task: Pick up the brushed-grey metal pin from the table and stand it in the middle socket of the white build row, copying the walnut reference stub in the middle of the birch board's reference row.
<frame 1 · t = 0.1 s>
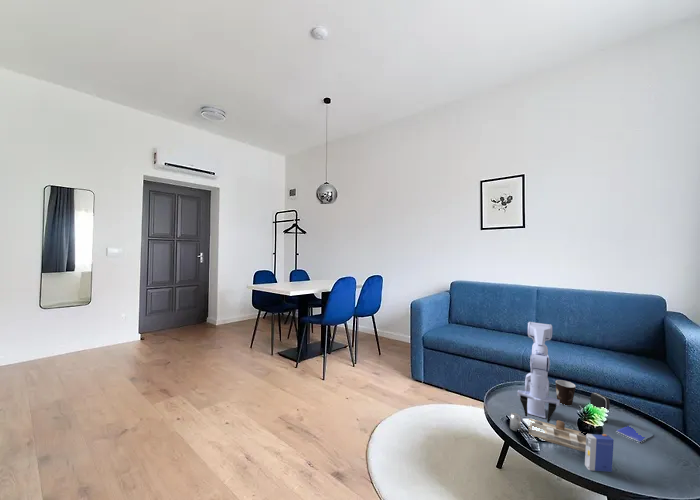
hand: (537, 418, 129), 10 cm above the table, tool pointing down, fingers open, 7 cm apart
layout board: (561, 436, 134), on the table
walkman: (598, 469, 115), on the table
blue spiral notebook: (634, 436, 138), on the table
coffee mug: (564, 404, 162), on the table
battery: (599, 419, 149), on the table
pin: (515, 428, 139), on the table
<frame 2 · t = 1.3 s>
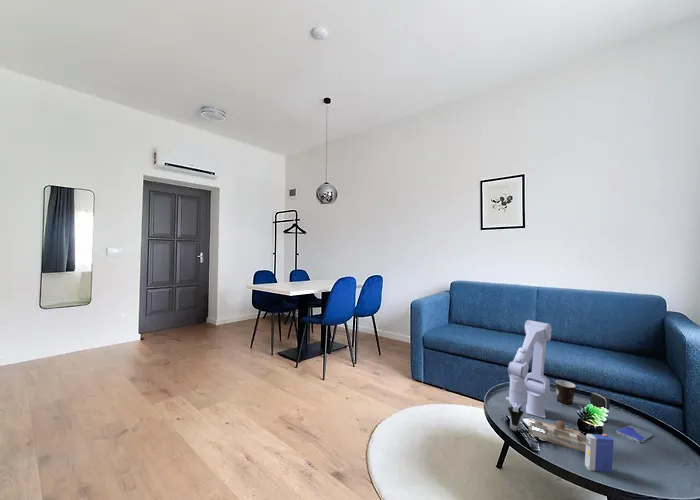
hand: (515, 421, 139), 3 cm above the table, tool pointing down, fingers open, 7 cm apart
nothing on the table moved.
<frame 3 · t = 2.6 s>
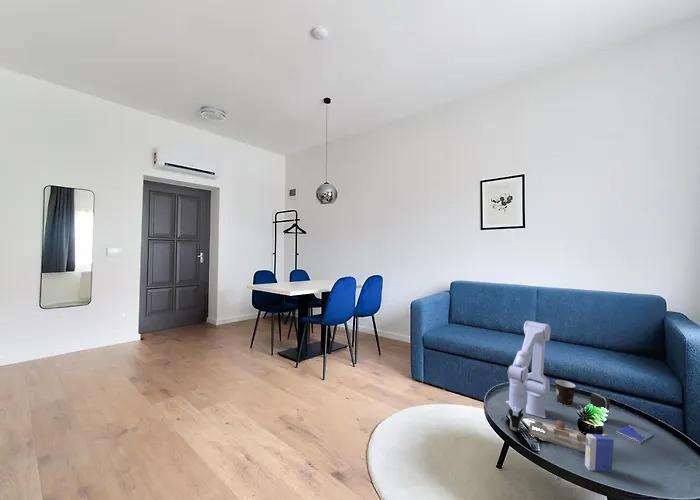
hand: (515, 424, 139), 2 cm above the table, tool pointing down, fingers closed on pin, 4 cm apart
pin: (515, 428, 139), on the table, touching gripper
everything else where it was.
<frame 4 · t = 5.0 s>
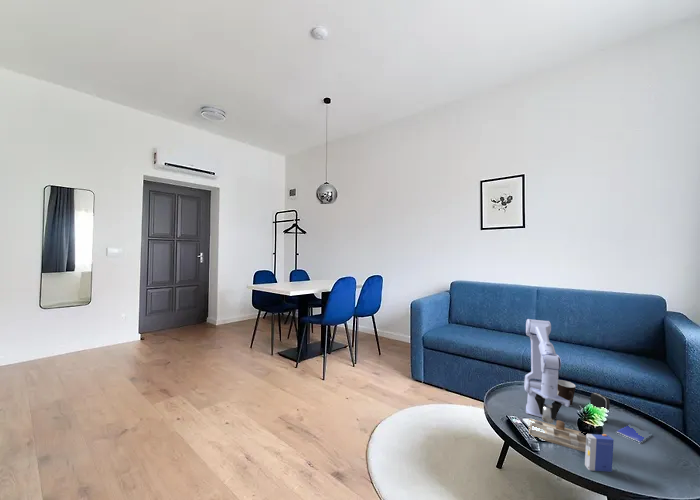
hand: (547, 416, 133), 9 cm above the table, tool pointing down, fingers closed on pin, 4 cm apart
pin: (547, 420, 133), point 7 cm above the table, touching gripper
everything else where it was.
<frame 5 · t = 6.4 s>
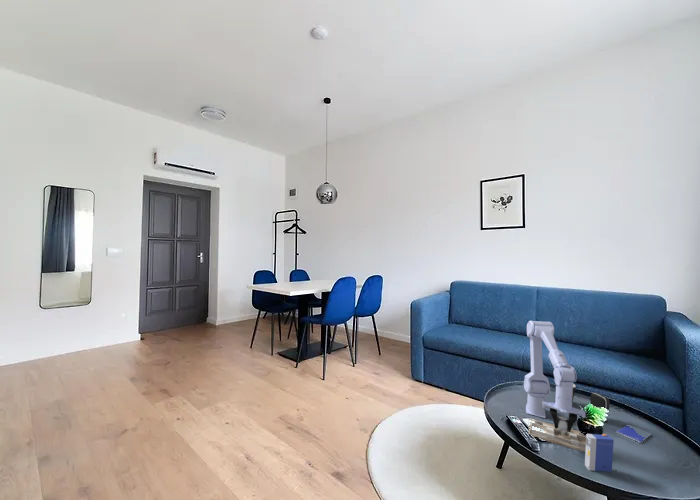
hand: (562, 429, 131), 5 cm above the table, tool pointing down, fingers closed on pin, 4 cm apart
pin: (562, 433, 131), point 3 cm above the table, touching gripper
everything else where it was.
when the fingers open (4 cm above the table, at t = 7.4 s): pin drops 1 cm, resting on layout board.
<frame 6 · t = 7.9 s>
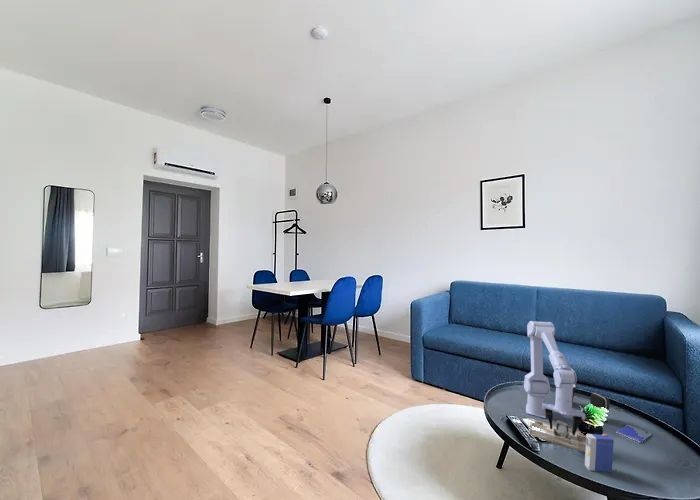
hand: (562, 431, 131), 4 cm above the table, tool pointing down, fingers open, 7 cm apart
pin: (561, 438, 131), point 1 cm above the table, touching layout board
everything else where it was.
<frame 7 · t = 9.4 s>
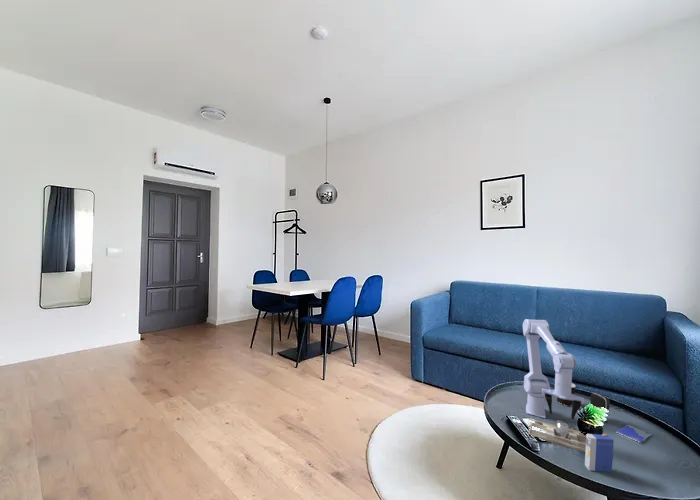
hand: (561, 415, 133), 9 cm above the table, tool pointing down, fingers open, 7 cm apart
nothing on the table moved.
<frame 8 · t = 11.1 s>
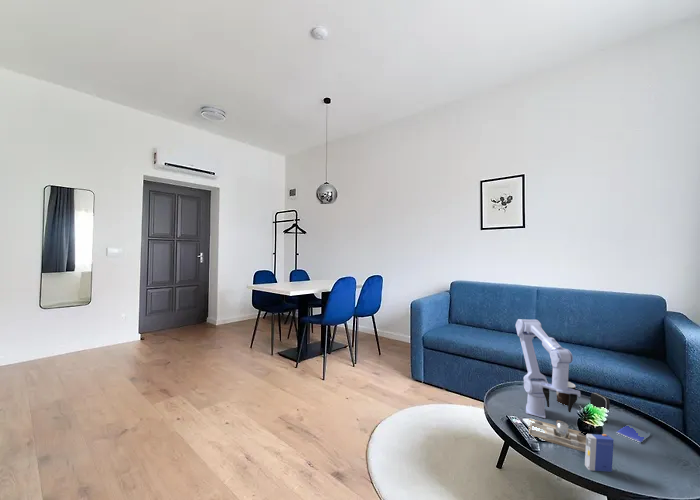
hand: (558, 408, 138), 10 cm above the table, tool pointing down, fingers open, 7 cm apart
nothing on the table moved.
at the end: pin 0.1 cm from the target spot on the layout board, point 1.0 cm above the layout board's base; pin tilted 0°; the gripper is holding nothing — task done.
